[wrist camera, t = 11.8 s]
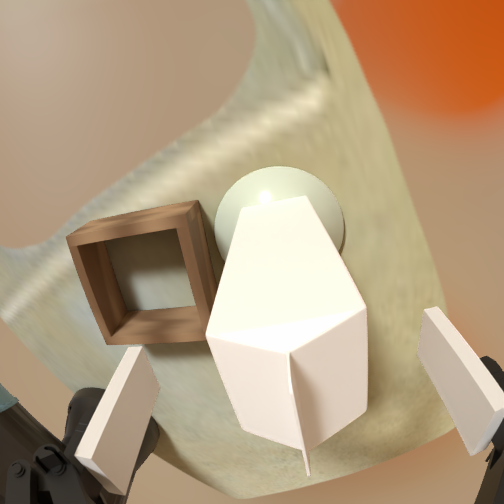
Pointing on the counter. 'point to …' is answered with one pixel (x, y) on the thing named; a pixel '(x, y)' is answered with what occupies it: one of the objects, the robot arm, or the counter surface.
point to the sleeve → (107, 290)
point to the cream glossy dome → (275, 189)
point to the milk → (289, 328)
